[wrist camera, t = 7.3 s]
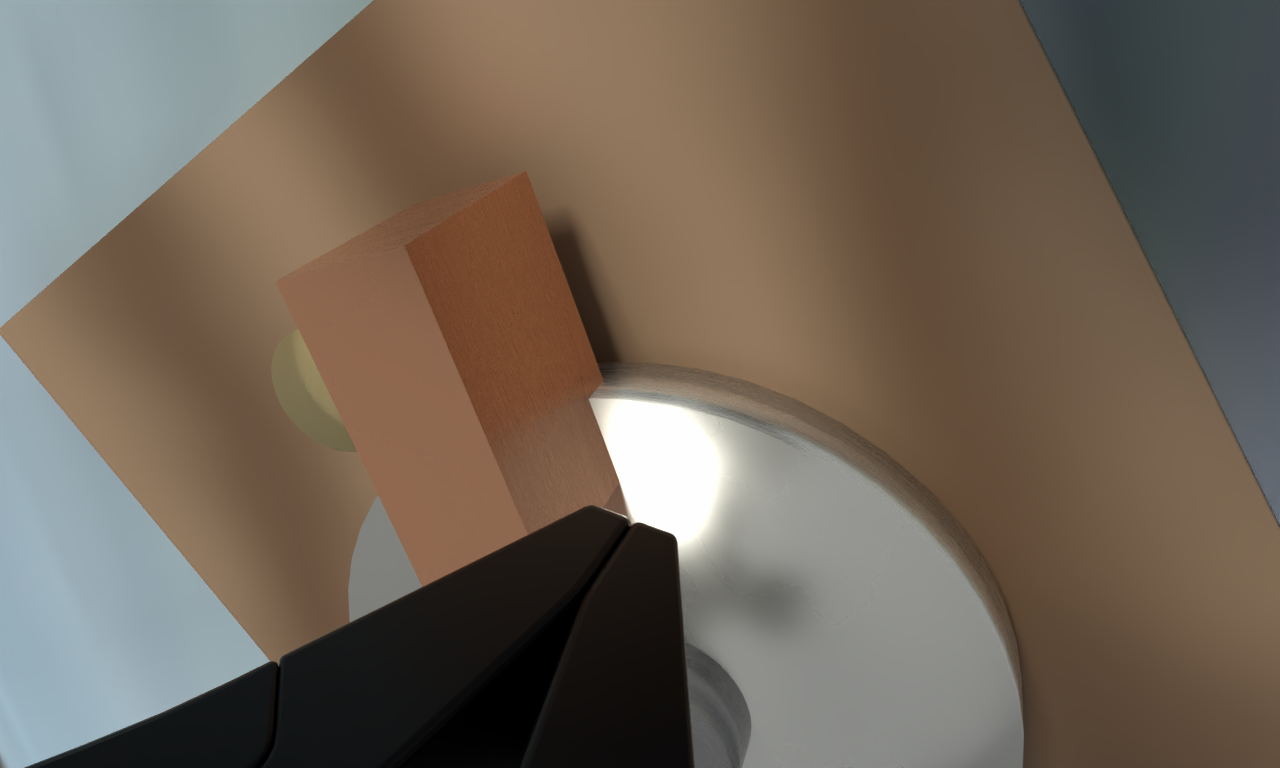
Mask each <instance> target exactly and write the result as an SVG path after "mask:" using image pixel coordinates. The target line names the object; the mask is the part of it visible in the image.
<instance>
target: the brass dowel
mask: <svg viewBox="0 0 1280 768" xmlns="http://www.w3.org/2000/svg"><path fill="white" fill-rule="evenodd" d="M271 374H272V382H273V386H274V390H275V393H276V395H277V398H278V400H279V402H280V404H281V406H282V408H283V409H284V411H285V412H286V414H287V415H288V417H289V418H290V419H291V420H292V422H293V423H294V424H295V425H296V426H297V427H298V428H299V429H300V430H301V431H302V432H304V433H305V434H306V435H307V436H309V437H310V438H312V439H313V440H314V441H316V442H318V443H320V444H322V445H324V446H326V447H329V448H331V449H335V450H338V451H344V452H357V450H356V448H355V446H354V444H353V442H352V440H351V438H350V436H349V433H348V431H347V429H346V427H345V425H344V423H343V421H342V419H341V417H340V415H339V413H338V411H337V408H336V406H335V404H334V402H333V400H332V398H331V396H330V394H329V392H328V390H327V388H326V386H325V384H324V381H323V379H322V377H321V375H320V373H319V371H318V369H317V367H316V365H315V363H314V361H313V359H312V357H311V354H310V352H309V350H308V348H307V346H306V344H305V342H304V340H303V338H302V336H301V334H300V332H299V329H296V330H295V331H293V332H292V333H290V334H289V335H287V336H286V337H285V338H284V339H283V340H282V341H281V342H280V343H279V345H278V346H277V348H276V350H275V352H274V355H273V359H272V366H271Z"/></svg>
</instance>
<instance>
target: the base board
mask: <svg viewBox="0 0 1280 768" xmlns="http://www.w3.org/2000/svg"><path fill="white" fill-rule="evenodd" d="M523 171H526V172H527V174H528V177H529V180H530V182H531V185H532V188H533V191H534V193H535V196H536V199H537V201H538V204H539V207H540V209H541V212H542V215H543V218H544V220H545V223H546V226H547V228H548V231H549V234H550V237H551V239H552V242H553V245H554V247H555V250H556V253H557V255H558V258H559V261H560V264H561V266H562V269H563V272H564V274H565V277H566V280H567V283H568V285H569V288H570V291H571V293H572V296H573V299H574V301H575V304H576V307H577V310H578V312H579V315H580V318H581V320H582V323H583V326H584V328H585V331H586V334H587V337H588V339H589V342H590V345H591V347H592V350H593V353H594V356H595V358H596V361H597V363H604V362H640V363H659V364H666V365H674V366H681V367H689V368H697V369H702V370H706V371H710V372H714V373H718V374H722V375H726V376H730V377H734V378H738V379H741V380H745V381H749V382H752V383H754V384H757V385H760V386H762V387H765V388H768V389H770V390H773V391H775V392H778V393H781V394H783V395H786V396H789V397H791V398H794V399H796V400H799V401H800V402H802V403H804V404H806V405H808V406H810V407H812V408H814V409H816V410H818V411H820V412H822V413H824V414H826V415H827V416H829V417H831V418H833V419H835V420H837V421H839V422H841V423H843V424H844V425H846V426H847V427H849V428H850V429H852V430H853V431H855V432H856V433H858V434H859V435H861V436H862V437H864V438H865V439H867V440H868V441H870V442H871V443H873V444H874V445H876V446H877V447H879V448H880V449H882V450H883V451H885V452H886V453H887V454H888V455H890V456H891V457H892V458H893V459H894V460H895V461H897V462H898V463H899V464H900V465H901V466H902V467H904V468H905V469H906V470H907V471H908V472H909V473H910V474H912V475H913V476H914V477H915V478H916V479H917V480H919V481H920V482H921V483H922V484H923V485H924V486H925V487H926V488H927V489H928V490H929V491H930V492H931V493H932V494H933V495H934V497H935V498H936V499H937V500H938V501H939V502H940V503H941V504H942V505H943V506H944V508H945V509H946V510H947V511H948V512H949V513H950V514H951V515H952V516H953V518H954V519H955V520H956V521H957V522H958V523H959V525H960V526H961V528H962V529H963V531H964V532H965V534H966V535H967V536H968V538H969V539H970V541H971V542H972V544H973V545H974V547H975V548H976V549H977V551H978V552H979V554H980V555H981V557H982V558H983V560H984V561H985V563H986V565H987V567H988V569H989V571H990V573H991V575H992V577H993V579H994V581H995V583H996V585H997V587H998V589H999V591H1000V593H1001V595H1002V597H1003V599H1004V602H1005V605H1006V609H1007V612H1008V615H1009V618H1010V621H1011V624H1012V627H1013V631H1014V634H1015V637H1016V641H1017V648H1018V655H1019V662H1020V669H1021V676H1022V699H1023V728H1024V746H1023V768H1280V525H1279V523H1278V521H1277V519H1276V517H1275V515H1274V513H1273V511H1272V509H1271V507H1270V505H1269V503H1268V501H1267V499H1266V497H1265V495H1264V493H1263V491H1262V489H1261V487H1260V485H1259V483H1258V481H1257V479H1256V477H1255V475H1254V472H1253V470H1252V468H1251V466H1250V464H1249V462H1248V460H1247V458H1246V456H1245V454H1244V452H1243V450H1242V448H1241V446H1240V444H1239V442H1238V440H1237V438H1236V436H1235V434H1234V432H1233V430H1232V428H1231V426H1230V424H1229V422H1228V420H1227V418H1226V416H1225V414H1224V412H1223V410H1222V408H1221V406H1220V404H1219V402H1218V400H1217V398H1216V396H1215V394H1214V392H1213V390H1212V388H1211V386H1210V384H1209V382H1208V380H1207V377H1206V375H1205V373H1204V371H1203V369H1202V367H1201V365H1200V363H1199V361H1198V359H1197V357H1196V355H1195V353H1194V351H1193V349H1192V347H1191V345H1190V343H1189V341H1188V339H1187V337H1186V335H1185V333H1184V331H1183V329H1182V327H1181V325H1180V323H1179V321H1178V319H1177V317H1176V315H1175V313H1174V311H1173V309H1172V307H1171V305H1170V303H1169V301H1168V299H1167V297H1166V295H1165V293H1164V291H1163V289H1162V287H1161V285H1160V283H1159V280H1158V278H1157V276H1156V274H1155V272H1154V270H1153V268H1152V266H1151V264H1150V262H1149V260H1148V258H1147V256H1146V254H1145V252H1144V250H1143V248H1142V246H1141V244H1140V242H1139V240H1138V238H1137V236H1136V234H1135V232H1134V230H1133V228H1132V226H1131V224H1130V222H1129V220H1128V218H1127V216H1126V214H1125V212H1124V210H1123V208H1122V206H1121V204H1120V202H1119V200H1118V198H1117V196H1116V194H1115V192H1114V190H1113V188H1112V185H1111V183H1110V181H1109V179H1108V177H1107V175H1106V173H1105V171H1104V169H1103V167H1102V165H1101V163H1100V161H1099V159H1098V157H1097V155H1096V153H1095V151H1094V149H1093V147H1092V145H1091V143H1090V141H1089V139H1088V137H1087V135H1086V133H1085V131H1084V129H1083V127H1082V125H1081V123H1080V121H1079V119H1078V117H1077V115H1076V113H1075V111H1074V109H1073V107H1072V105H1071V103H1070V101H1069V99H1068V97H1067V95H1066V93H1065V91H1064V88H1063V86H1062V84H1061V82H1060V80H1059V78H1058V76H1057V74H1056V72H1055V70H1054V68H1053V66H1052V64H1051V62H1050V60H1049V58H1048V56H1047V54H1046V52H1045V50H1044V48H1043V46H1042V44H1041V42H1040V40H1039V38H1038V36H1037V34H1036V32H1035V30H1034V28H1033V26H1032V24H1031V22H1030V20H1029V18H1028V16H1027V14H1026V12H1025V10H1024V8H1023V6H1022V4H1021V2H1020V0H374V1H373V2H371V3H370V4H369V5H368V6H367V7H366V8H365V9H363V10H362V11H361V12H360V13H359V14H358V15H357V16H355V17H354V18H353V19H352V20H351V21H350V22H349V23H347V24H346V25H345V26H344V27H343V28H342V29H341V30H339V31H338V32H337V33H336V34H335V35H334V36H333V37H331V38H330V39H329V40H328V41H327V42H326V43H325V44H323V45H322V46H321V47H320V48H319V49H318V50H317V51H315V52H314V53H313V54H312V55H311V56H310V57H309V58H307V59H306V60H305V61H304V62H303V63H302V64H301V65H300V66H298V67H297V68H296V69H295V70H294V71H293V72H292V73H290V74H289V75H288V76H287V77H286V78H285V79H284V80H282V81H281V82H280V83H279V84H278V85H277V86H276V87H274V88H273V89H272V90H271V91H270V92H269V93H268V94H266V95H265V96H264V97H263V98H262V99H261V100H260V101H258V102H257V103H256V104H255V105H254V106H253V107H252V108H250V109H249V110H248V111H247V112H246V113H245V114H244V115H242V116H241V117H240V118H239V119H238V120H237V121H236V122H234V123H233V124H232V125H231V126H230V127H229V128H228V129H226V130H225V131H224V132H223V133H222V134H221V135H220V136H219V137H217V138H216V139H215V140H214V141H213V142H212V143H211V144H209V145H208V146H207V147H206V148H205V149H204V150H203V151H201V152H200V153H199V154H198V155H197V156H196V157H195V158H193V159H192V160H191V161H190V162H189V163H188V164H187V165H185V166H184V167H183V168H182V169H181V170H180V171H179V172H177V173H176V174H175V175H174V176H173V177H172V178H171V179H169V180H168V181H167V182H166V183H165V184H164V185H163V186H161V187H160V188H159V189H158V190H157V191H156V192H155V193H153V194H152V195H151V196H150V197H149V198H148V199H147V200H145V201H144V202H143V203H142V204H141V205H140V206H139V207H138V208H136V209H135V210H134V211H133V212H132V213H131V214H130V215H128V216H127V217H126V218H125V219H124V220H123V221H122V222H120V223H119V224H118V225H117V226H116V227H115V228H114V229H112V230H111V231H110V232H109V233H108V234H107V235H106V236H104V237H103V238H102V239H101V240H100V241H99V242H98V243H96V244H95V245H94V246H93V247H92V248H91V249H90V250H88V251H87V252H86V253H85V254H84V255H83V256H82V257H80V258H79V259H78V260H77V261H76V262H75V263H74V264H72V265H71V266H70V267H69V268H68V269H67V270H66V271H64V272H63V273H62V274H61V275H60V276H59V277H58V278H56V279H55V280H54V281H53V282H52V283H51V284H50V285H49V286H47V287H46V288H45V289H44V290H43V291H42V292H41V293H39V294H38V295H37V296H36V297H35V298H34V299H33V300H31V301H30V302H29V303H28V304H27V305H26V306H25V307H23V308H22V309H21V310H20V311H19V312H18V313H17V314H15V315H14V316H13V317H12V318H11V319H10V320H9V321H7V322H6V323H5V324H4V325H3V326H2V327H1V328H0V335H1V336H2V337H3V338H4V340H5V341H6V342H7V343H8V345H9V346H10V347H11V348H12V349H13V351H14V352H15V353H16V354H17V355H18V357H19V358H20V359H21V360H22V361H23V363H24V364H25V365H26V366H27V368H28V369H29V370H30V371H31V372H32V374H33V375H34V376H35V377H36V378H37V380H38V381H39V382H40V383H41V384H42V386H43V387H44V388H45V389H46V390H47V392H48V393H49V394H50V395H51V397H52V398H53V399H54V400H55V401H56V403H57V404H58V405H59V406H60V407H61V409H62V410H63V411H64V412H65V413H66V415H67V416H68V417H69V418H70V419H71V421H72V422H73V423H74V424H75V426H76V427H77V428H78V429H79V430H80V432H81V433H82V434H83V435H84V436H85V438H86V439H87V440H88V441H89V442H90V444H91V445H92V446H93V447H94V449H95V450H96V451H97V452H98V453H99V455H100V456H101V457H102V458H103V459H104V461H105V462H106V463H107V464H108V465H109V467H110V468H111V469H112V470H113V471H114V473H115V474H116V475H117V476H118V478H119V479H120V480H121V481H122V482H123V484H124V485H125V486H126V487H127V488H128V490H129V491H130V492H131V493H132V494H133V496H134V497H135V498H136V499H137V500H138V502H139V503H140V504H141V505H142V507H143V508H144V509H145V510H146V511H147V513H148V514H149V515H150V516H151V517H152V519H153V520H154V521H155V522H156V523H157V525H158V526H159V527H160V528H161V529H162V531H163V532H164V533H165V534H166V536H167V537H168V538H169V539H170V540H171V542H172V543H173V544H174V545H175V546H176V548H177V549H178V550H179V551H180V552H181V554H182V555H183V556H184V557H185V559H186V560H187V561H188V562H189V563H190V565H191V566H192V567H193V568H194V569H195V571H196V572H197V573H198V574H199V575H200V577H201V578H202V579H203V580H204V581H205V583H206V584H207V585H208V586H209V588H210V589H211V590H212V591H213V592H214V594H215V595H216V596H217V597H218V598H219V600H220V601H221V602H222V603H223V604H224V606H225V607H226V608H227V609H228V610H229V612H230V613H231V614H232V615H233V617H234V618H235V619H236V620H237V621H238V623H239V624H240V625H241V626H242V627H243V629H244V630H245V631H246V632H247V633H248V635H249V636H250V637H251V638H252V640H253V641H254V642H255V643H256V644H257V646H258V647H259V648H260V649H261V650H262V652H263V653H264V654H265V655H266V656H267V658H268V659H269V660H270V661H275V662H277V663H278V666H279V660H280V658H281V657H282V656H283V655H285V654H287V653H289V652H291V651H293V650H295V649H297V648H299V647H301V646H303V645H305V644H307V643H310V642H312V641H314V640H316V639H318V638H320V637H322V636H324V635H326V634H328V633H330V632H332V631H334V630H336V629H338V628H340V627H342V626H344V625H346V624H348V623H350V619H349V596H348V587H349V578H350V570H351V561H352V556H353V552H354V549H355V546H356V542H357V539H358V535H359V532H360V529H361V526H362V524H363V522H364V520H365V518H366V516H367V514H368V512H369V510H370V508H371V506H372V504H373V502H374V500H375V499H376V497H377V496H378V494H377V492H376V490H375V487H374V485H373V483H372V481H371V479H370V477H369V475H368V473H367V471H366V469H365V467H364V465H363V463H362V460H361V458H360V456H359V454H358V452H344V451H338V450H335V449H331V448H329V447H326V446H324V445H322V444H320V443H318V442H316V441H314V440H313V439H312V438H310V437H309V436H307V435H306V434H305V433H304V432H302V431H301V430H300V429H299V428H298V427H297V426H296V425H295V424H294V423H293V422H292V420H291V419H290V418H289V417H288V415H287V414H286V412H285V411H284V409H283V408H282V406H281V404H280V402H279V400H278V398H277V395H276V393H275V390H274V386H273V382H272V374H271V366H272V359H273V355H274V352H275V350H276V348H277V346H278V345H279V343H280V342H281V341H282V340H283V339H284V338H285V337H286V336H287V335H289V334H290V333H292V332H293V331H295V330H296V329H298V327H297V325H296V323H295V321H294V319H293V317H292V315H291V313H290V311H289V309H288V307H287V305H286V302H285V300H284V298H283V296H282V294H281V292H280V290H279V288H278V286H277V284H276V282H275V281H277V280H278V279H280V278H282V277H284V276H286V275H287V274H289V273H291V272H293V271H295V270H296V269H298V268H300V267H302V266H304V265H305V264H307V263H309V262H311V261H313V260H314V259H316V258H318V257H320V256H322V255H323V254H325V253H327V252H329V251H331V250H332V249H334V248H336V247H338V246H340V245H341V244H343V243H345V242H347V241H349V240H350V239H352V238H354V237H356V236H358V235H359V234H361V233H363V232H365V231H367V230H368V229H370V228H372V227H374V226H376V225H377V224H379V223H381V222H383V221H385V220H386V219H388V218H390V217H392V216H394V215H395V214H397V213H399V212H401V211H403V210H404V209H406V208H408V207H410V206H412V205H413V204H415V203H418V202H422V201H425V200H429V199H432V198H435V197H439V196H442V195H446V194H449V193H452V192H456V191H459V190H462V189H466V188H469V187H473V186H476V185H479V184H483V183H486V182H490V181H493V180H496V179H500V178H503V177H506V176H510V175H513V174H517V173H520V172H523Z"/></svg>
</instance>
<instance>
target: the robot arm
mask: <svg viewBox="0 0 1280 768" xmlns="http://www.w3.org/2000/svg"><path fill="white" fill-rule="evenodd" d="M25 768H695V761H694V748H693V735H692V722H691V709H690V697H689V684H688V671H687V658H686V645H685V632H684V619H683V606H682V593H681V580H680V567H679V554H678V542H677V539H676V537H675V536H674V535H673V534H672V533H670V532H667V531H664V530H661V529H659V528H656V527H653V526H650V525H648V524H645V523H642V522H637V523H634V524H632V525H631V521H630V520H629V518H627V517H626V516H623V515H620V514H618V513H615V512H612V511H609V510H607V509H604V508H601V507H599V506H594V505H590V506H586V507H583V508H581V509H579V510H577V511H575V512H573V513H571V514H569V515H567V516H565V517H563V518H561V519H559V520H557V521H555V522H553V523H551V524H549V525H547V526H545V527H543V528H541V529H539V530H537V531H535V532H533V533H531V534H529V535H527V536H525V537H522V538H520V539H518V540H516V541H514V542H512V543H510V544H508V545H506V546H504V547H502V548H500V549H498V550H496V551H494V552H492V553H490V554H488V555H486V556H484V557H482V558H480V559H478V560H476V561H474V562H472V563H470V564H468V565H466V566H464V567H462V568H460V569H458V570H456V571H454V572H452V573H449V574H447V575H445V576H443V577H441V578H439V579H437V580H435V581H433V582H431V583H429V584H427V585H425V586H423V587H421V588H419V589H417V590H415V591H413V592H411V593H409V594H407V595H405V596H403V597H401V598H399V599H397V600H395V601H393V602H391V603H389V604H387V605H385V606H383V607H381V608H378V609H376V610H374V611H372V612H370V613H368V614H366V615H364V616H362V617H360V618H358V619H356V620H354V621H352V622H350V623H348V624H346V625H344V626H342V627H340V628H338V629H336V630H334V631H332V632H330V633H328V634H326V635H324V636H322V637H320V638H318V639H316V640H314V641H312V642H310V643H307V644H305V645H303V646H301V647H299V648H297V649H295V650H293V651H291V652H289V653H287V654H285V655H283V656H282V657H281V658H280V660H279V666H278V663H277V662H275V661H270V662H268V663H266V664H264V665H262V666H260V667H258V668H256V669H254V670H252V671H250V672H248V673H246V674H244V675H242V676H240V677H238V678H236V679H234V680H232V681H230V682H227V683H225V684H223V685H221V686H219V687H217V688H214V689H212V690H210V691H208V692H206V693H204V694H201V695H199V696H197V697H195V698H193V699H191V700H188V701H186V702H184V703H182V704H180V705H178V706H176V707H173V708H171V709H169V710H167V711H165V712H162V713H160V714H158V715H155V716H153V717H150V718H148V719H145V720H143V721H141V722H138V723H136V724H133V725H131V726H128V727H126V728H123V729H121V730H119V731H116V732H114V733H111V734H109V735H106V736H104V737H101V738H99V739H97V740H94V741H92V742H89V743H87V744H84V745H82V746H79V747H77V748H74V749H71V750H69V751H66V752H64V753H61V754H59V755H56V756H53V757H51V758H48V759H46V760H43V761H40V762H38V763H35V764H33V765H30V766H27V767H25Z"/></svg>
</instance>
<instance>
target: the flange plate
mask: <svg viewBox="0 0 1280 768" xmlns="http://www.w3.org/2000/svg"><path fill="white" fill-rule="evenodd" d="M275 282H276V284H277V286H278V288H279V290H280V292H281V294H282V296H283V298H284V300H285V302H286V305H287V307H288V309H289V311H290V313H291V315H292V317H293V319H294V321H295V323H296V325H297V327H298V329H299V332H300V334H301V336H302V338H303V340H304V342H305V344H306V346H307V348H308V350H309V352H310V354H311V357H312V359H313V361H314V363H315V365H316V367H317V369H318V371H319V373H320V375H321V377H322V379H323V381H324V384H325V386H326V388H327V390H328V392H329V394H330V396H331V398H332V400H333V402H334V404H335V406H336V408H337V411H338V413H339V415H340V417H341V419H342V421H343V423H344V425H345V427H346V429H347V431H348V433H349V436H350V438H351V440H352V442H353V444H354V446H355V448H356V450H357V452H358V454H359V456H360V458H361V460H362V463H363V465H364V467H365V469H366V471H367V473H368V475H369V477H370V479H371V481H372V483H373V485H374V487H375V490H376V492H377V494H378V496H377V497H376V499H375V500H374V502H373V504H372V506H371V508H370V510H369V512H368V514H367V516H366V518H365V520H364V522H363V524H362V526H361V529H360V532H359V535H358V539H357V542H356V546H355V549H354V552H353V556H352V561H351V570H350V578H349V587H348V596H349V619H350V622H352V621H354V620H356V619H358V618H360V617H362V616H364V615H366V614H368V613H370V612H372V611H374V610H376V609H378V608H381V607H383V606H385V605H387V604H389V603H391V602H393V601H395V600H397V599H399V598H401V597H403V596H405V595H407V594H409V593H411V592H413V591H415V590H417V589H419V588H421V587H423V586H425V585H427V584H429V583H431V582H433V581H435V580H437V579H439V578H441V577H443V576H445V575H447V574H449V573H452V572H454V571H456V570H458V569H460V568H462V567H464V566H466V565H468V564H470V563H472V562H474V561H476V560H478V559H480V558H482V557H484V556H486V555H488V554H490V553H492V552H494V551H496V550H498V549H500V548H502V547H504V546H506V545H508V544H510V543H512V542H514V541H516V540H518V539H520V538H522V537H525V536H527V535H529V534H531V533H533V532H535V531H537V530H539V529H541V528H543V527H545V526H547V525H549V524H551V523H553V522H555V521H557V520H559V519H561V518H563V517H565V516H567V515H569V514H571V513H573V512H575V511H577V510H579V509H581V508H583V507H586V506H590V505H594V506H599V507H601V508H604V509H607V510H609V511H612V512H615V513H618V514H620V515H623V516H626V517H627V518H629V520H630V521H631V525H632V524H634V523H637V522H642V523H645V524H648V525H650V526H653V527H656V528H659V529H661V530H664V531H667V532H670V533H672V534H673V535H674V536H675V537H676V539H677V542H678V554H679V567H680V580H681V593H682V606H683V619H684V632H685V645H686V658H687V671H688V684H689V697H690V709H691V722H692V735H693V748H694V761H695V768H1023V746H1024V728H1023V699H1022V676H1021V669H1020V662H1019V655H1018V648H1017V641H1016V637H1015V634H1014V631H1013V627H1012V624H1011V621H1010V618H1009V615H1008V612H1007V609H1006V605H1005V602H1004V599H1003V597H1002V595H1001V593H1000V591H999V589H998V587H997V585H996V583H995V581H994V579H993V577H992V575H991V573H990V571H989V569H988V567H987V565H986V563H985V561H984V560H983V558H982V557H981V555H980V554H979V552H978V551H977V549H976V548H975V547H974V545H973V544H972V542H971V541H970V539H969V538H968V536H967V535H966V534H965V532H964V531H963V529H962V528H961V526H960V525H959V523H958V522H957V521H956V520H955V519H954V518H953V516H952V515H951V514H950V513H949V512H948V511H947V510H946V509H945V508H944V506H943V505H942V504H941V503H940V502H939V501H938V500H937V499H936V498H935V497H934V495H933V494H932V493H931V492H930V491H929V490H928V489H927V488H926V487H925V486H924V485H923V484H922V483H921V482H920V481H919V480H917V479H916V478H915V477H914V476H913V475H912V474H910V473H909V472H908V471H907V470H906V469H905V468H904V467H902V466H901V465H900V464H899V463H898V462H897V461H895V460H894V459H893V458H892V457H891V456H890V455H888V454H887V453H886V452H885V451H883V450H882V449H880V448H879V447H877V446H876V445H874V444H873V443H871V442H870V441H868V440H867V439H865V438H864V437H862V436H861V435H859V434H858V433H856V432H855V431H853V430H852V429H850V428H849V427H847V426H846V425H844V424H843V423H841V422H839V421H837V420H835V419H833V418H831V417H829V416H827V415H826V414H824V413H822V412H820V411H818V410H816V409H814V408H812V407H810V406H808V405H806V404H804V403H802V402H800V401H799V400H796V399H794V398H791V397H789V396H786V395H783V394H781V393H778V392H775V391H773V390H770V389H768V388H765V387H762V386H760V385H757V384H754V383H752V382H749V381H745V380H741V379H738V378H734V377H730V376H726V375H722V374H718V373H714V372H710V371H706V370H702V369H697V368H689V367H681V366H674V365H666V364H659V363H640V362H604V363H597V361H596V358H595V356H594V353H593V350H592V347H591V345H590V342H589V339H588V337H587V334H586V331H585V328H584V326H583V323H582V320H581V318H580V315H579V312H578V310H577V307H576V304H575V301H574V299H573V296H572V293H571V291H570V288H569V285H568V283H567V280H566V277H565V274H564V272H563V269H562V266H561V264H560V261H559V258H558V255H557V253H556V250H555V247H554V245H553V242H552V239H551V237H550V234H549V231H548V228H547V226H546V223H545V220H544V218H543V215H542V212H541V209H540V207H539V204H538V201H537V199H536V196H535V193H534V191H533V188H532V185H531V182H530V180H529V177H528V174H527V172H526V171H523V172H520V173H517V174H513V175H510V176H506V177H503V178H500V179H496V180H493V181H490V182H486V183H483V184H479V185H476V186H473V187H469V188H466V189H462V190H459V191H456V192H452V193H449V194H446V195H442V196H439V197H435V198H432V199H429V200H425V201H422V202H418V203H415V204H413V205H412V206H410V207H408V208H406V209H404V210H403V211H401V212H399V213H397V214H395V215H394V216H392V217H390V218H388V219H386V220H385V221H383V222H381V223H379V224H377V225H376V226H374V227H372V228H370V229H368V230H367V231H365V232H363V233H361V234H359V235H358V236H356V237H354V238H352V239H350V240H349V241H347V242H345V243H343V244H341V245H340V246H338V247H336V248H334V249H332V250H331V251H329V252H327V253H325V254H323V255H322V256H320V257H318V258H316V259H314V260H313V261H311V262H309V263H307V264H305V265H304V266H302V267H300V268H298V269H296V270H295V271H293V272H291V273H289V274H287V275H286V276H284V277H282V278H280V279H278V280H277V281H275Z"/></svg>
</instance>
